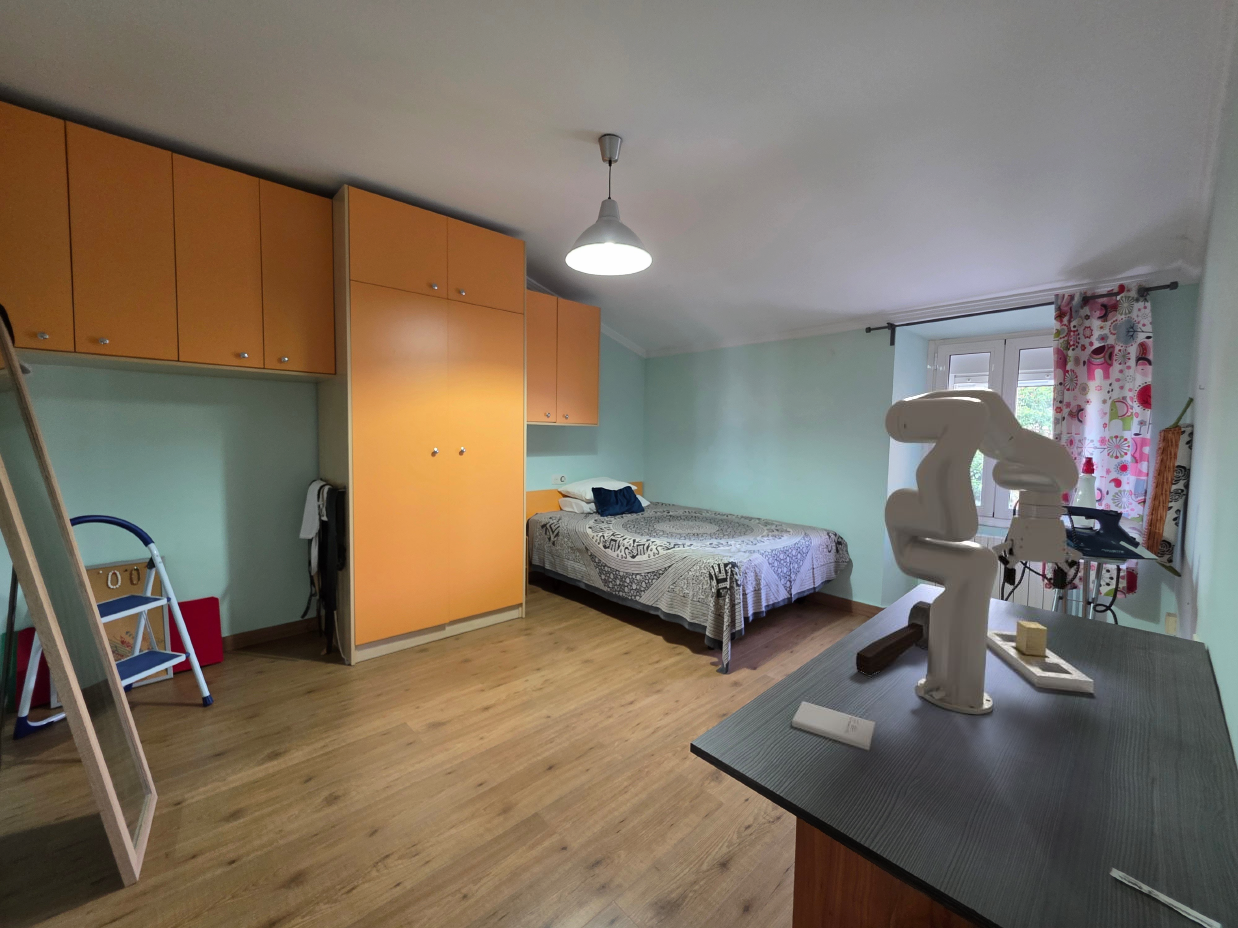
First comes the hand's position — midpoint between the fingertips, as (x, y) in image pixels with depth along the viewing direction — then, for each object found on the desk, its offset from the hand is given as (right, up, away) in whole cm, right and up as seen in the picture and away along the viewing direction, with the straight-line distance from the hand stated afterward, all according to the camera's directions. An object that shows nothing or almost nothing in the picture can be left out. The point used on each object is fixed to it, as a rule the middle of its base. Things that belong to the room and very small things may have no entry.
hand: (1033, 585), depth 116 cm
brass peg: (0, -18, +1) cm, 18 cm away
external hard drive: (-57, -20, -26) cm, 66 cm away
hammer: (-30, -18, +2) cm, 35 cm away
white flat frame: (0, -18, +1) cm, 18 cm away
